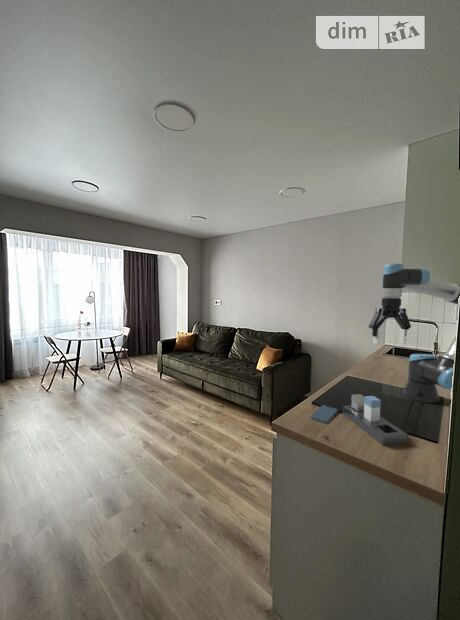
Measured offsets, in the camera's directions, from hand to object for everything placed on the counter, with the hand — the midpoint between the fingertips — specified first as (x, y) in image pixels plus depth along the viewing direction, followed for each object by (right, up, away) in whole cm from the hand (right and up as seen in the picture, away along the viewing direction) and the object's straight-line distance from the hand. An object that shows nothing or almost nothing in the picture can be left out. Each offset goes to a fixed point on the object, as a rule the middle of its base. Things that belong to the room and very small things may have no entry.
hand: (388, 343), depth 115 cm
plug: (-16, -33, -14) cm, 39 cm away
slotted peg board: (-16, -33, -14) cm, 39 cm away
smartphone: (-32, -32, -4) cm, 45 cm away
